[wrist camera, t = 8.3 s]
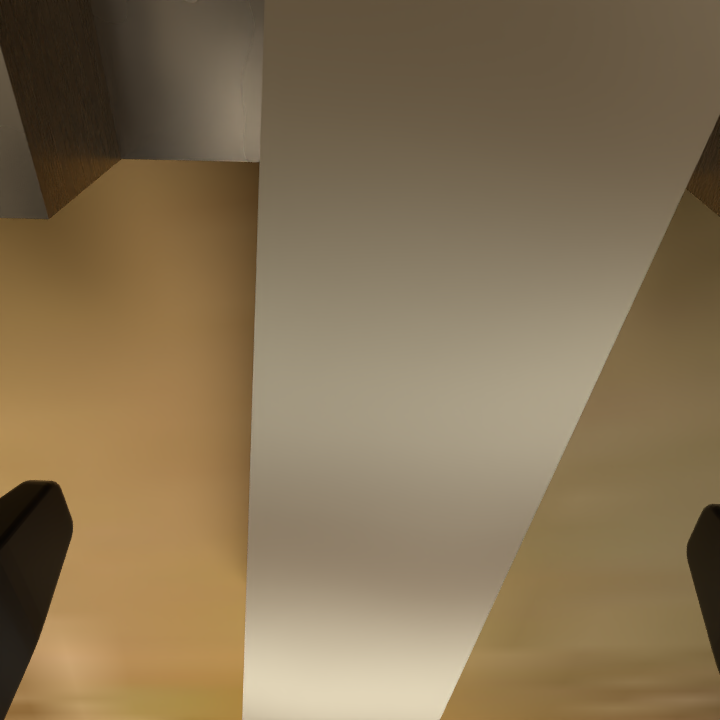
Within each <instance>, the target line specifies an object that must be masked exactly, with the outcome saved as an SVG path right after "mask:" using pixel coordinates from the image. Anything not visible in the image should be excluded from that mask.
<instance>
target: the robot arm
mask: <svg viewBox="0 0 720 720" xmlns="http://www.w3.org/2000/svg"><path fill="white" fill-rule="evenodd" d="M72 532H73V521H72V517H71V515H70V512H69V509H68V506H67V504H66V501H65V498H64V495H63V493H62V490H61V488H60V486H59V485H58V484H57V483H56V482H54V481H41V480H29V481H25V482H23V483H21V484H20V485H18V486H17V487H15V488H14V489H12V490H11V491H9V492H8V493H7V494H5V495H4V496H2V497H1V498H0V720H4V719H5V717H6V714H7V712H8V710H9V707H10V705H11V703H12V701H13V698H14V696H15V694H16V691H17V689H18V687H19V685H20V682H21V680H22V678H23V675H24V673H25V671H26V669H27V666H28V664H29V662H30V659H31V657H32V655H33V652H34V650H35V647H36V645H37V642H38V640H39V637H40V634H41V631H42V629H43V626H44V623H45V620H46V617H47V613H48V610H49V607H50V604H51V601H52V598H53V594H54V591H55V588H56V585H57V582H58V579H59V576H60V572H61V569H62V566H63V563H64V560H65V557H66V553H67V550H68V547H69V544H70V541H71V537H72ZM687 559H688V564H689V567H690V571H691V575H692V578H693V582H694V586H695V589H696V593H697V597H698V600H699V604H700V608H701V611H702V615H703V619H704V622H705V626H706V630H707V633H708V637H709V641H710V644H711V648H712V652H713V655H714V658H715V661H716V665H717V668H718V671H719V673H720V504H710V505H708V506H706V507H705V508H704V509H703V511H702V513H701V515H700V517H699V519H698V521H697V524H696V526H695V528H694V530H693V532H692V534H691V536H690V539H689V541H688V544H687Z"/></svg>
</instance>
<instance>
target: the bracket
mask: <svg viewBox="0 0 720 720" xmlns="http://www.w3.org/2000/svg"><path fill="white" fill-rule="evenodd" d="M264 4H265V0H0V218H26V219H50V218H51V217H52V216H53V215H54V214H56V213H57V212H58V211H59V210H60V209H62V208H63V207H64V206H65V205H66V204H68V203H69V202H70V201H71V200H72V199H74V198H75V197H76V196H77V195H78V194H80V193H81V192H82V191H83V190H84V189H86V188H87V187H88V186H89V185H90V184H92V183H93V182H94V181H95V180H97V179H98V178H99V177H100V176H101V175H103V174H104V173H105V172H106V171H107V170H109V169H110V168H111V167H112V166H113V165H115V164H116V163H117V162H118V161H119V160H121V159H153V160H195V161H236V162H260V134H261V101H262V69H263V37H264ZM686 189H687V190H688V191H690V192H691V193H692V194H693V195H695V196H696V197H697V198H698V199H699V200H701V201H702V202H703V203H704V204H705V205H707V206H708V207H709V208H710V209H711V210H713V211H714V212H715V213H716V214H717V215H719V216H720V115H719V117H718V120H717V122H716V124H715V126H714V128H713V130H712V133H711V135H710V137H709V139H708V141H707V143H706V145H705V148H704V150H703V152H702V154H701V156H700V158H699V161H698V163H697V165H696V167H695V169H694V171H693V174H692V176H691V178H690V180H689V182H688V184H687V187H686Z"/></svg>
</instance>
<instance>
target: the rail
mask: <svg viewBox="0 0 720 720" xmlns="http://www.w3.org/2000/svg"><path fill="white" fill-rule="evenodd" d="M719 115H720V0H265V4H264V37H263V69H262V101H261V134H260V166H259V198H258V231H257V263H256V296H255V328H254V360H253V393H252V425H251V457H250V490H249V522H248V555H247V587H246V619H245V652H244V684H243V716H242V720H440V718H441V716H442V714H443V712H444V709H445V707H446V705H447V703H448V701H449V699H450V696H451V694H452V692H453V690H454V688H455V686H456V683H457V681H458V679H459V677H460V675H461V673H462V670H463V668H464V666H465V664H466V662H467V660H468V657H469V655H470V653H471V651H472V649H473V647H474V645H475V642H476V640H477V638H478V636H479V634H480V632H481V629H482V627H483V625H484V623H485V621H486V619H487V616H488V614H489V612H490V610H491V608H492V606H493V603H494V601H495V599H496V597H497V595H498V593H499V591H500V588H501V586H502V584H503V582H504V580H505V578H506V575H507V573H508V571H509V569H510V567H511V565H512V562H513V560H514V558H515V556H516V554H517V552H518V549H519V547H520V545H521V543H522V541H523V539H524V537H525V534H526V532H527V530H528V528H529V526H530V524H531V521H532V519H533V517H534V515H535V513H536V511H537V508H538V506H539V504H540V502H541V500H542V498H543V495H544V493H545V491H546V489H547V487H548V485H549V482H550V480H551V478H552V476H553V474H554V472H555V470H556V467H557V465H558V463H559V461H560V459H561V457H562V454H563V452H564V450H565V448H566V446H567V444H568V441H569V439H570V437H571V435H572V433H573V431H574V428H575V426H576V424H577V422H578V420H579V418H580V416H581V413H582V411H583V409H584V407H585V405H586V403H587V400H588V398H589V396H590V394H591V392H592V390H593V387H594V385H595V383H596V381H597V379H598V377H599V374H600V372H601V370H602V368H603V366H604V364H605V362H606V359H607V357H608V355H609V353H610V351H611V349H612V346H613V344H614V342H615V340H616V338H617V336H618V333H619V331H620V329H621V327H622V325H623V323H624V320H625V318H626V316H627V314H628V312H629V310H630V308H631V305H632V303H633V301H634V299H635V297H636V295H637V292H638V290H639V288H640V286H641V284H642V282H643V279H644V277H645V275H646V273H647V271H648V269H649V266H650V264H651V262H652V260H653V258H654V256H655V253H656V251H657V249H658V247H659V245H660V243H661V241H662V238H663V236H664V234H665V232H666V230H667V228H668V225H669V223H670V221H671V219H672V217H673V215H674V212H675V210H676V208H677V206H678V204H679V202H680V199H681V197H682V195H683V193H684V191H685V189H686V187H687V184H688V182H689V180H690V178H691V176H692V174H693V171H694V169H695V167H696V165H697V163H698V161H699V158H700V156H701V154H702V152H703V150H704V148H705V145H706V143H707V141H708V139H709V137H710V135H711V133H712V130H713V128H714V126H715V124H716V122H717V120H718V117H719Z"/></svg>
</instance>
